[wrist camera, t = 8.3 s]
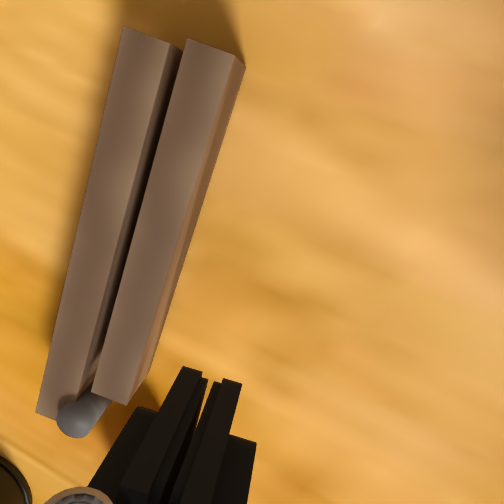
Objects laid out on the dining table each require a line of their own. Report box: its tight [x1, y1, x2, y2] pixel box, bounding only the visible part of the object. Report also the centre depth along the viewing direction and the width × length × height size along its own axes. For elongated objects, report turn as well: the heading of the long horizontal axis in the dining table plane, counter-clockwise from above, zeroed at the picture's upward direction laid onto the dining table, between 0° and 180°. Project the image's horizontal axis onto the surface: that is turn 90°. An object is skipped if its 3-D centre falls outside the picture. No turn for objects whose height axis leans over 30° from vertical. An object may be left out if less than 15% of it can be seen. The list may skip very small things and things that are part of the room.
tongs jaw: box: [91, 38, 246, 406], centre depth 26 cm, size 2×22×4 cm, turn 160°
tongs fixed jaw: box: [35, 26, 183, 438], centre depth 26 cm, size 4×25×5 cm, turn 160°
